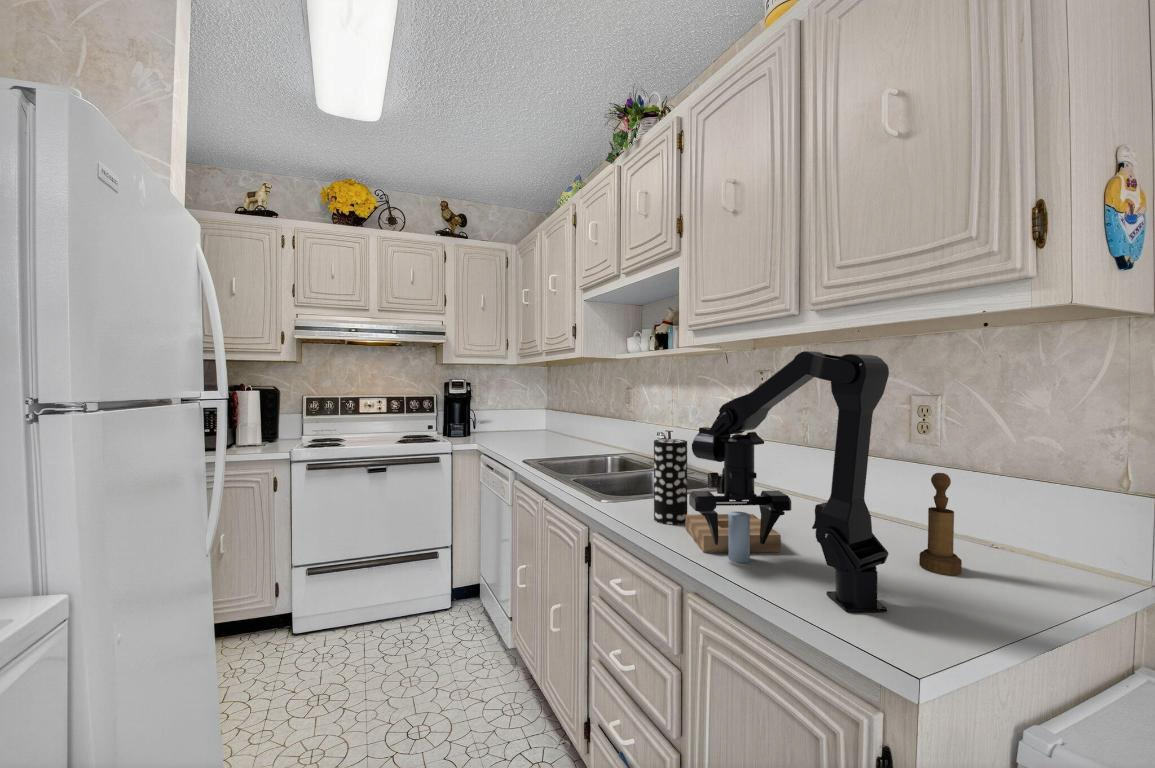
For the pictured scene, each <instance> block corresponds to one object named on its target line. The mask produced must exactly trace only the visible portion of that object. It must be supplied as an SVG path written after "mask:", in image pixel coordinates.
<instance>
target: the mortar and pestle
mask: <svg viewBox="0 0 1155 768" xmlns="http://www.w3.org/2000/svg"><path fill="white" fill-rule="evenodd" d="M930 481H931V485H932V486H933V487H934V489H935V491H936V492H935V494H934V496H933V501H934V504H935V506H931V507H928V508H927V510H928V511H927V513H928V514H927V518H928V519H927V522H928V523H927V524H928V525H927V527H928V528H927V548H925V549H924V550H923V551H920V553H919V559H918V560H919V567H920V568H922V569H923V570H926V571H928V572H932V573H935V574H939V575H946V576H959V575H961V574H962V572H963V571H962V570H963V569H962V568H963V567H962V566H963V563H962V561H963V560H962V559H961V558H960V557H959V556H958V555H957V554H956V553H954V538H955V537H954V536H955V535H954V532H955V530H954V529H955V527H954V526H955V511H954V510H952V509H949V508H947V506H948V503H949V497H947V495H946V492H947V490H948V489H949V487H950V486H951V483H952V482H951V481H952V480H951V477H950V476H949V475H948V474H947V473H944V472H935V473H934V474H932V476H931V478H930Z"/></svg>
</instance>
